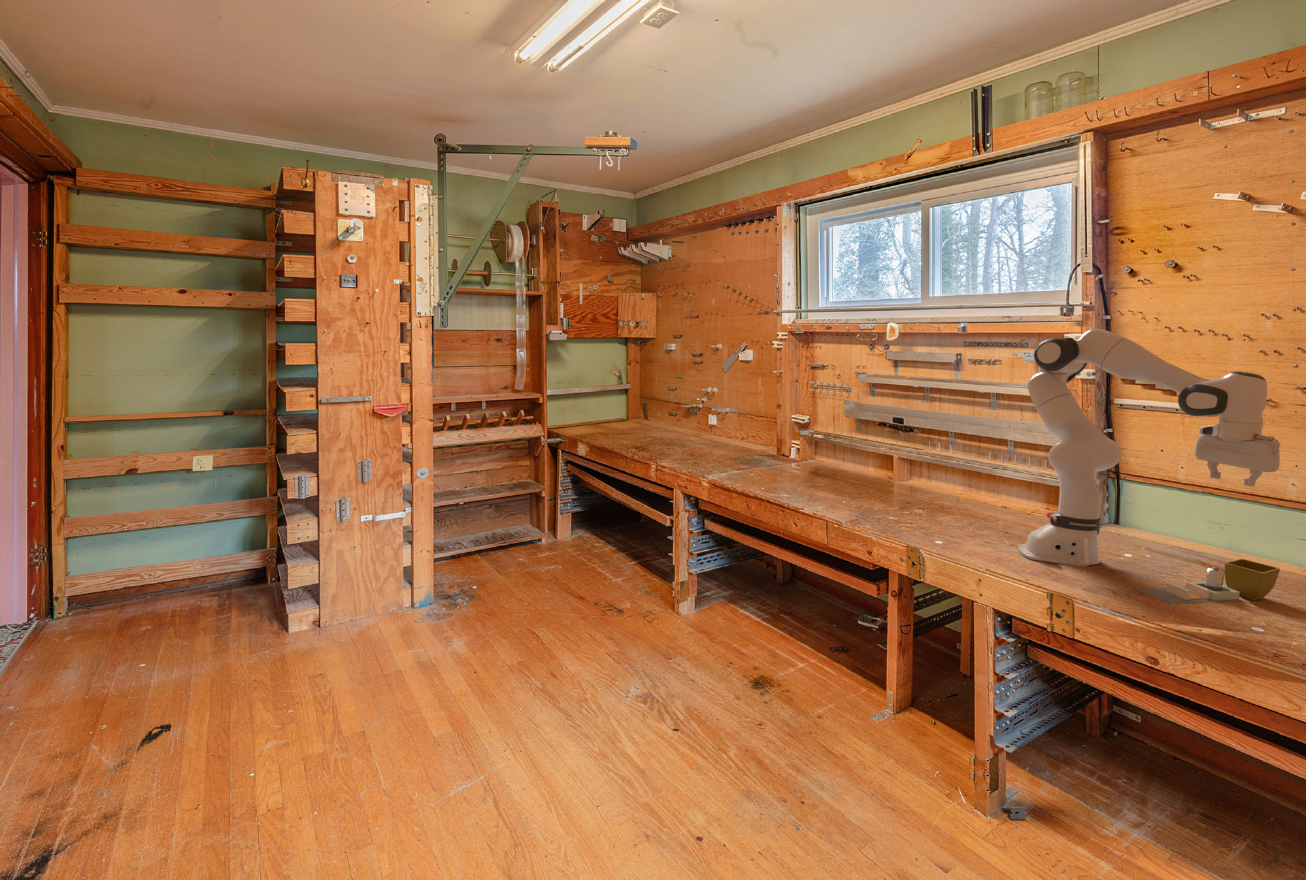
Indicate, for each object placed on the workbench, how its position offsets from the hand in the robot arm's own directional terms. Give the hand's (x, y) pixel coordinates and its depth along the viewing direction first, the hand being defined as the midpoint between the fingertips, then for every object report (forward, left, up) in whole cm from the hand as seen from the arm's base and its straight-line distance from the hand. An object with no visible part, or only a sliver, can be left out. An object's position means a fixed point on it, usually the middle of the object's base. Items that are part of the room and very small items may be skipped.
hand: (1231, 482), depth 177 cm
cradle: (-11, -10, -31) cm, 35 cm away
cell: (-4, -7, -30) cm, 31 cm away
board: (-11, -10, -31) cm, 34 cm away
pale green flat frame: (-4, -7, -31) cm, 32 cm away
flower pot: (+6, -3, -31) cm, 32 cm away
